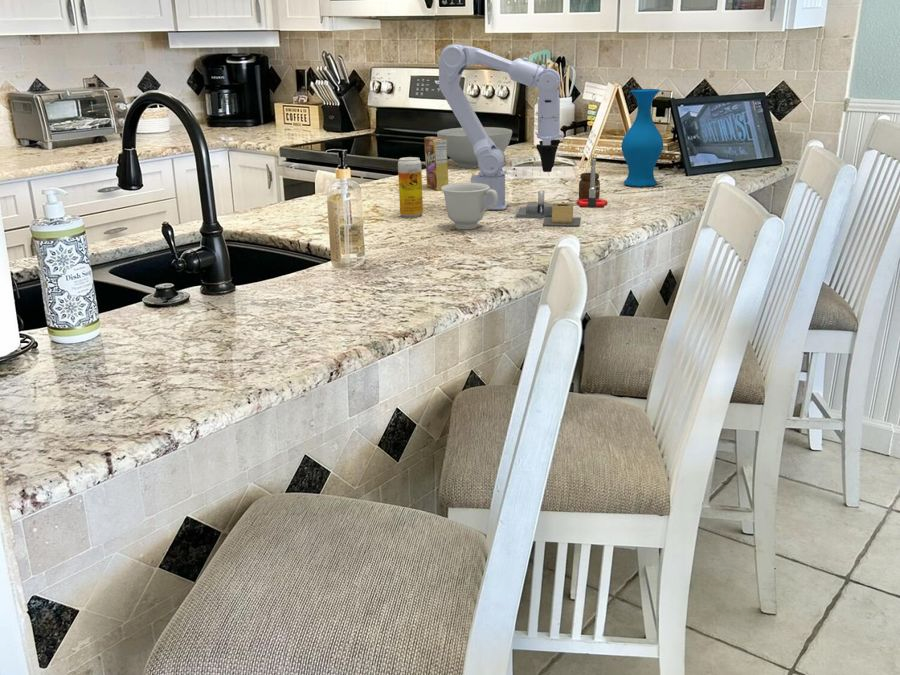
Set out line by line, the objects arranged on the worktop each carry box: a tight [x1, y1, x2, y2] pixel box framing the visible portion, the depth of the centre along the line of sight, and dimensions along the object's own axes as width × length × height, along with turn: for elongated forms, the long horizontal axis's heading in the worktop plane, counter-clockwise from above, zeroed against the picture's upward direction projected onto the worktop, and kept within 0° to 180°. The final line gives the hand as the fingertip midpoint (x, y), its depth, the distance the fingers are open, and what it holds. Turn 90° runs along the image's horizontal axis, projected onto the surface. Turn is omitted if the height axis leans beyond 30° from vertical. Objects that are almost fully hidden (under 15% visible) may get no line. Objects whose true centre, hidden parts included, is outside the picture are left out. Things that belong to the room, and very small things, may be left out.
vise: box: [515, 190, 553, 219], centre depth 220 cm, size 13×10×6 cm
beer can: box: [397, 156, 424, 219], centre depth 221 cm, size 6×6×15 cm
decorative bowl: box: [436, 126, 513, 169], centre depth 301 cm, size 27×27×12 cm
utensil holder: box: [578, 154, 601, 200], centre depth 238 cm, size 6×6×12 cm
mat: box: [542, 216, 582, 228], centre depth 211 cm, size 9×9×1 cm
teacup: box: [441, 182, 498, 230], centre depth 207 cm, size 12×15×10 cm
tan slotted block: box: [552, 202, 574, 223], centre depth 210 cm, size 5×5×4 cm
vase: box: [621, 88, 664, 188], centre depth 253 cm, size 12×13×28 cm
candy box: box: [423, 136, 449, 192], centre depth 259 cm, size 9×4×15 cm, turn 23°
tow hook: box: [576, 158, 608, 208], centre depth 230 cm, size 8×13×9 cm
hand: (548, 169), depth 225 cm, fingers open, 7 cm apart
